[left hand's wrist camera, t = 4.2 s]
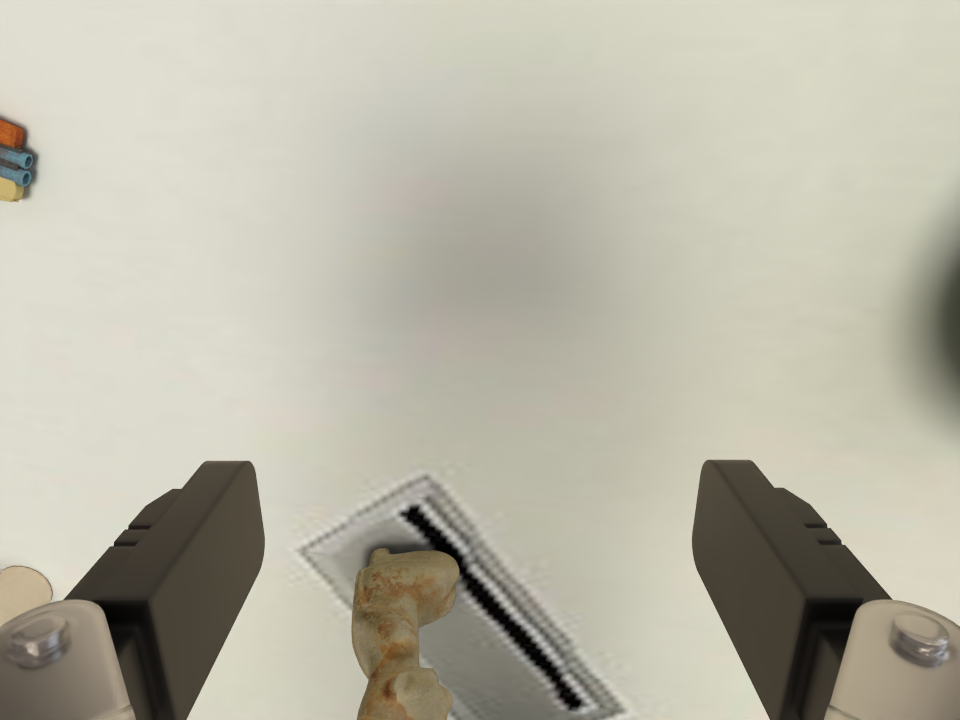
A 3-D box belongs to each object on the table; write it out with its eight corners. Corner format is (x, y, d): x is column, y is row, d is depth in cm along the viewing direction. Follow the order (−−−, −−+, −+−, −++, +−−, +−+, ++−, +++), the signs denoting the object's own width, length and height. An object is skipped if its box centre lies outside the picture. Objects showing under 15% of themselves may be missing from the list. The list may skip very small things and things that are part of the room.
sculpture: (453, 604, 48) (441, 800, 34) (358, 592, 48) (308, 786, 34) (463, 541, 46) (457, 722, 32) (365, 528, 46) (315, 706, 32)
